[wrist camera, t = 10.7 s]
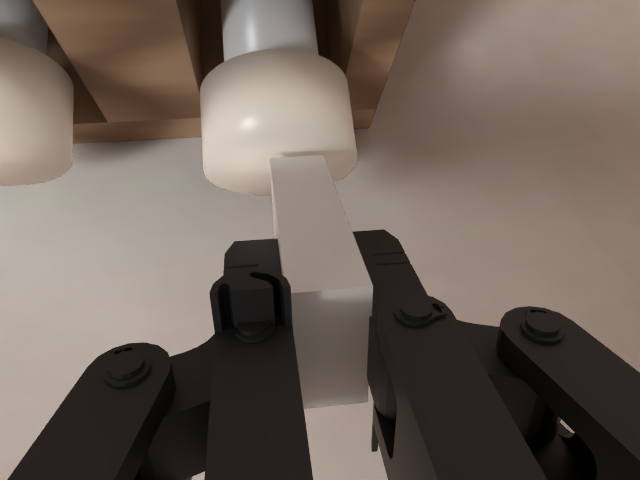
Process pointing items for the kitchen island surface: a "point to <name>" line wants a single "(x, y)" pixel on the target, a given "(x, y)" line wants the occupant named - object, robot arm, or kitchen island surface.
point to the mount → (194, 59)
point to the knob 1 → (32, 100)
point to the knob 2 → (272, 98)
